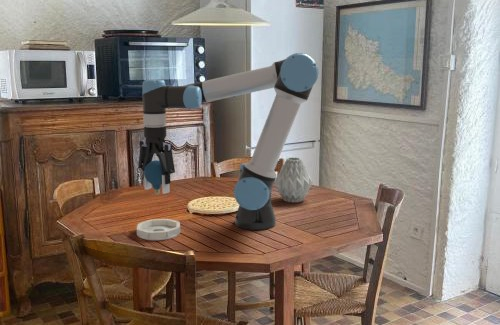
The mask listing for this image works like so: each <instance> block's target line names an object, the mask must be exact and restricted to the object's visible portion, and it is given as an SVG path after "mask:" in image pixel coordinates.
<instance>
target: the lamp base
mask: <svg viewBox="0 0 500 325" xmlns="http://www.w3.org/2000/svg"><path fill="white" fill-rule="evenodd" d="M136 235H137V237H138V238H140V239H142V240H146V241H166V240H170V239H174V238H176V237H178V236H179V235H181V222H180V221H178V220H175V219H170V218H158V219H155V218H154V219H152V218H151V219H148V220H144V221H142V222H139V223H137V226H136Z"/></svg>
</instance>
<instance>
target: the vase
mask: <svg viewBox="0 0 500 325" xmlns="http://www.w3.org/2000/svg"><path fill="white" fill-rule="evenodd" d="M274 184H275V186H276V189H277V192H278V193H279V195H280V197H282V200H283V201H284V202H287V203H302V202H303V201H304V199H305V197H306V196H307V194H308V193H309V190H310V189H311V186H312V185H313V181H312V178H311V176H310V174H309V172H308V170H307V167H306V165H304V162H303V161H302V158H301V157H287V158H286V160H285V161H284V163H283V164H282V165H281V167H280V171H279V173H278V174H276V179H275V181H274Z"/></svg>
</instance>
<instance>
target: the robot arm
mask: <svg viewBox="0 0 500 325" xmlns="http://www.w3.org/2000/svg"><path fill="white" fill-rule="evenodd" d="M318 78H319V67H318V64H317V62H316V60H315V59H314V58H313V57H312V56H310V55H308V54H307V53H303V52H296V53H293V54H290V55H289V56H288V57H286V58H285V59H282V60H279V61H274V62H272V64H271V65H269V66H266V67H260V68H256V69H252V70H247V71H242V72H238V73H234V74H229V75H226V76H221V77H216V78H212V79H207V80H203V81H199V82H198V81H197V82H195V83H188V84H186V85H185V84H184V85H172V86H171V85H166V81H165V80H164V79H146V80H143V82H142V93H141V94H142V117H143V119H142V121H143V122H142V123H143V137H144V138H145V140H144V139H143V140H140V141H139V142H138V143H139V156H138V164H137V165H138V166H137V167H138V169H141V171H142V178H143V180H144V182H143V186H144V188H143V189H144V190H150V189H152V188H153V185H152V184H151V183H149V182H148V181H147V180H146V178H145V176H144V169H145V167H146V165H147V164H148V163H149V162H151V161H153V158H154V155H155V156H156V157H158V161H160V164H161V167H162V170H163V173H164V174H162V184H161V187H162V189H161V190H162V191H161V192H162V194H163V195H165V194H169V193H170V192H171V191H170V189H171V188H170V186H171V185H170V184H171V175H172V174H174V173H176V170H175V169H176V168H175V163H174V162H175V161H174V156H173V145H172V143H166V140H165V139H166V137H167V127H166V125H167V114H166V112H167V110H166V109H179V110H180V109H181V110H183V109H185V110H198V109H200V108H201V105H202V104H205V103H210V102H214V101H218V100H223V99H228V98H232V97H237V96H241V95H247V94H251V93H255V92H261V91H264V90H269V89H274V91H275V96H274V100H273V102H272V104H271V107H270V109H269V112H268V115H267V118H266V120H265V122H264V125H263V128H262V130H261V133H260V136H259V138H258V140H257V143H256V146H255V149H254V151H253V153H252V157H251V159H250V160H249V161H247V162H244V163H241V164H240V165H239V170H238V172H239V177H238V180H237V182H236V183H235V186H234V189H233V193H234V194H233V196H234V199H235V201H236V203H237V204H238V209H237V210H236V211H237V212H236V215H235V217H234V218H235V219H234V220H235V221H234V223H235V226H236V227H238V228H240V229H244V230H249V231H250V230H251V231H258V230H259V231H261V230H268V229H271V228H273V227H275V226H276V222H277V219H276V217H277V216H276V215H275V211H274V209H273V205H272V189H273V186H274V184H275V179H276V177H277V173H276V171H275V169H276V167H277V165H278V162H279V159H280V156H281V154H282V152H283V149H284V147H285V144H286V142H287V139H288V137H289V135H290V132H291V129H292V127H293V124H294V121H295V119H296V116H297V114H298V112H299V109H300V107H301V104H303V103H305V102H307V101H308V99H309V97H310V94H311V93H312V90H313V87H314V85H315V84H316V82H317V81H318ZM166 170H167V171H166Z"/></svg>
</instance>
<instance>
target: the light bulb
mask: <svg viewBox="0 0 500 325" xmlns="http://www.w3.org/2000/svg"><path fill="white" fill-rule="evenodd" d="M166 171H167V170H166ZM162 174H164V173H163V170H162V167H161V164H160V161H159V159H158V160H157V159H156V160H152V161H151V162H149V163H148V164H147V165H146V167H145V169H144V176H145V178H146V180H147V181H148V182H149V183H151V184H152V188H153V190H154V191H153V193H154V195H159V194H160V193H161V192H160V189H161V187H162Z"/></svg>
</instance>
